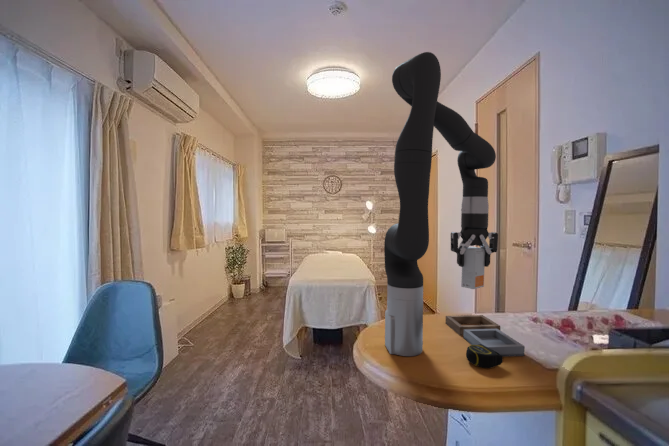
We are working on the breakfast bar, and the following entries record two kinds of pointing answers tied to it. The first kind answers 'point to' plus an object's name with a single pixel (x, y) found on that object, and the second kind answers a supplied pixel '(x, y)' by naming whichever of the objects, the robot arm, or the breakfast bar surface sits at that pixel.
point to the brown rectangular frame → (456, 322)
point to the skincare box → (473, 268)
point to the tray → (495, 341)
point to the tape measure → (483, 356)
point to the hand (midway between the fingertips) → (473, 266)
